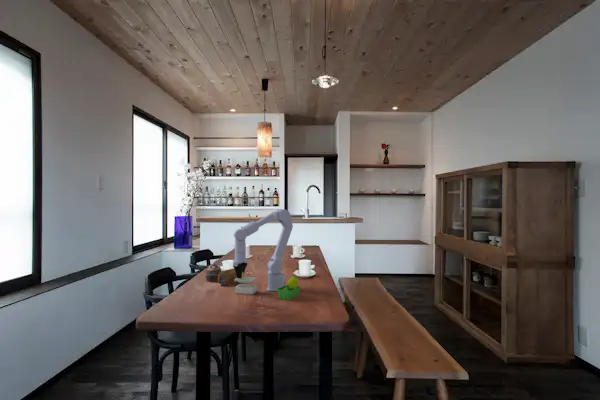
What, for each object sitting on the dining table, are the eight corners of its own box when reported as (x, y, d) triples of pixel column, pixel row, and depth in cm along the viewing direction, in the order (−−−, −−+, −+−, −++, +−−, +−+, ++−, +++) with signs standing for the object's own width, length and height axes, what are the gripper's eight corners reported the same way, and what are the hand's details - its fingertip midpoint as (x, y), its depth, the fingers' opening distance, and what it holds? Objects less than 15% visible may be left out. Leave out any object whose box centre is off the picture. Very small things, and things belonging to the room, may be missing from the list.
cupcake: (212, 278, 222) (212, 262, 222) (224, 279, 217) (224, 263, 217) (201, 281, 213) (201, 264, 213) (214, 283, 209) (214, 266, 209)
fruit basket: (288, 294, 185) (288, 272, 185) (303, 296, 181) (303, 274, 180) (276, 299, 175) (276, 276, 175) (291, 302, 171) (291, 278, 171)
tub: (256, 291, 190) (256, 284, 190) (252, 294, 184) (252, 287, 184) (239, 290, 192) (239, 284, 192) (235, 293, 186) (235, 287, 186)
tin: (220, 286, 201) (220, 271, 201) (216, 285, 203) (216, 271, 203) (240, 281, 213) (240, 267, 213) (236, 280, 215) (236, 267, 215)
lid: (257, 280, 190) (257, 272, 190) (252, 284, 183) (253, 274, 183) (239, 279, 192) (239, 270, 192) (234, 282, 185) (234, 273, 185)
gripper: (238, 249, 196) (238, 274, 196) (227, 253, 182) (227, 280, 182) (250, 249, 195) (250, 274, 195) (240, 254, 181) (240, 280, 181)
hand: (240, 277), depth 188 cm, fingers closed on lid, 3 cm apart
